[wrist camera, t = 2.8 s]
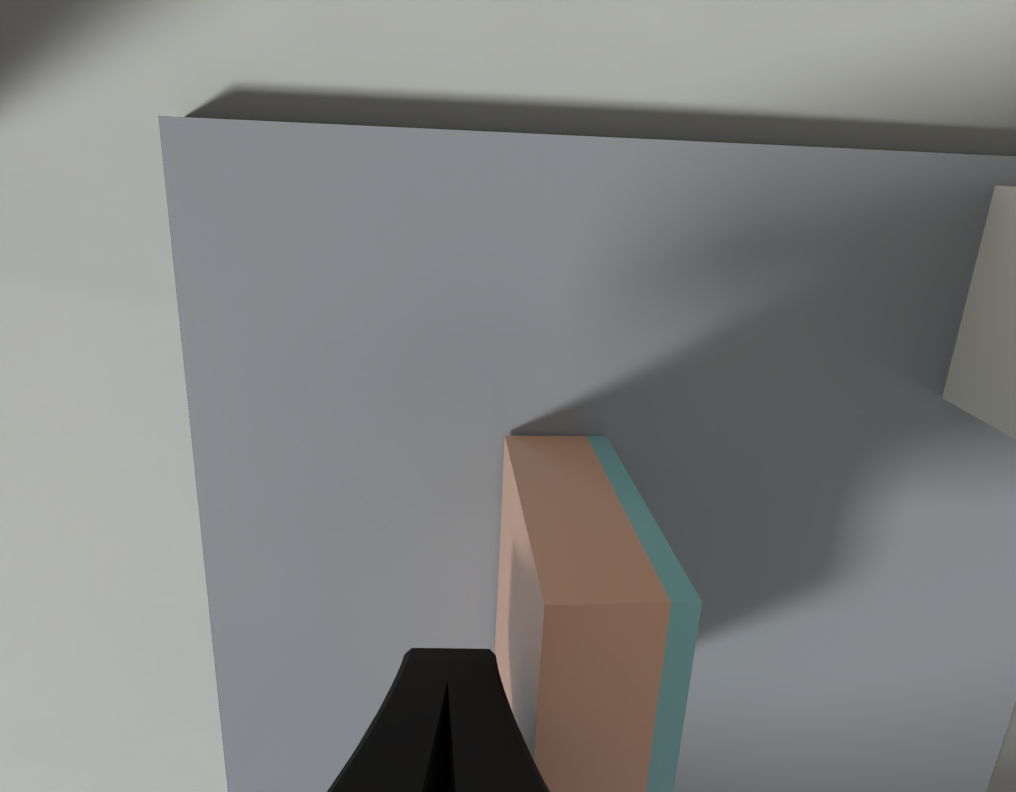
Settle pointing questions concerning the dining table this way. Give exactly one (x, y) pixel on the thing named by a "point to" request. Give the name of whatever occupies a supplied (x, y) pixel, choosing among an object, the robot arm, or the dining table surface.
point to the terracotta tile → (591, 619)
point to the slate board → (597, 428)
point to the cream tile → (989, 324)
